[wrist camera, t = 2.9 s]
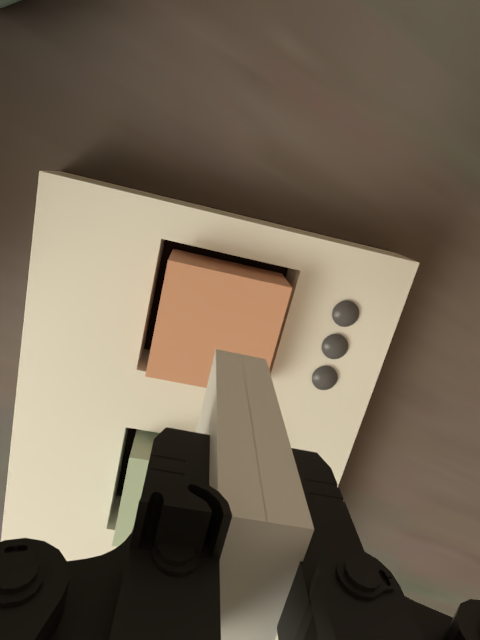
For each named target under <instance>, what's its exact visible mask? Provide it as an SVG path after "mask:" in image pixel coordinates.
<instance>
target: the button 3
mask: <svg viewBox="0 0 480 640" xmlns="http://www.w3.org/2000/svg"><path fill="white" fill-rule="evenodd" d="M291 291H292V287H291V285H290V284H289V283H288V281H287V280H286V278H285V277H284V276H283V274H282V273H278V272H273V271H269V270H265V269H260V268H256V267H251V266H247V265H243V264H238V263H234V262H230V261H225V260H221V259H216V258H212V257H208V256H203V255H199V254H194V253H190V252H186V251H181V250H177V249H173V250H172V252H171V254H170V257H169V259H168V262H167V267H166V272H165V277H164V283H163V288H162V293H161V298H160V303H159V308H158V313H157V318H156V323H155V328H154V334H153V339H152V344H151V349H150V354H149V359H148V364H147V369H146V374H145V377H151V378H156V379H161V380H167V381H172V382H177V383H183V384H188V385H193V386H199V387H204V388H207V384H208V379H209V375H210V371H211V367H212V363H213V359H214V355H215V351H216V349H218V350H223V351H228V352H233V353H238V354H243V355H248V356H253V357H258V358H262V359H266V361H267V364H268V368H269V369H270V365H271V362H272V358H273V355H274V351H275V347H276V344H277V340H278V337H279V333H280V330H281V326H282V323H283V319H284V316H285V312H286V309H287V305H288V302H289V298H290V295H291Z"/></svg>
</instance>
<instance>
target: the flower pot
mask: <svg viewBox="0 0 480 640" xmlns="http://www.w3.org/2000/svg"><path fill="white" fill-rule="evenodd" d="M19 1H21V0H0V8H3V7H6V6H8V5H11V4H13V3H16V2H19Z"/></svg>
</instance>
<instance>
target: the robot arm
mask: <svg viewBox="0 0 480 640" xmlns="http://www.w3.org/2000/svg"><path fill="white" fill-rule="evenodd" d="M337 485H338V484H337V482H336V479H335V477H334V474H333V472H332V469H331V467H330V466H329V465H328V464H327V463H326V462H325V461H324V460H323V459H322V457H321V456H320V455H319V454H318V453H317V452H311V451H306V450H300V449H294V448H291V445H290V442H289V438H288V435H287V431H286V428H285V424H284V421H283V417H282V414H281V410H280V406H279V403H278V399H277V396H276V392H275V389H274V385H273V382H272V378H271V375H270V371H269V368H268V364H267V361H266V359H262V358H258V357H253V356H248V355H243V354H238V353H233V352H228V351H223V350H218V349H216V351H215V355H214V359H213V363H212V367H211V371H210V375H209V379H208V384H207V388H206V392H205V396H204V400H203V404H202V408H201V412H200V416H199V421H198V425H197V429H196V432H190V431H185V430H179V429H174V428H168V427H166V428H165V429H164V430H163V431H162V432H161V433H160V434H158V435H157V436H156V437H155V438H154V441H153V445H152V450H151V454H150V459H149V463H148V468H147V472H146V477H145V481H144V486H143V490H142V495H141V499H140V500H139V504H138V509H137V514H136V518H135V523H134V527H133V530H132V532H131V534H130V535H129V536H128V538H127V539H126V540H125V541H124V542H123V543H122V544H121V545H119V546H118V547H117V548H115V549H114V550H112V551H109V552H107V553H105V554H103V555H100V556H95V557H91V558H87V559H80V560H73V561H66V559H65V558H64V556H63V555H62V553H61V552H60V550H59V549H57V548H55V547H54V546H52V545H50V544H49V543H47V542H45V541H41V540H35V539H30V538H20V539H11V540H4V541H1V542H0V640H275V638H276V635H277V634H278V640H480V600H473V599H470V600H468V601H465V602H463V603H461V604H460V606H459V608H458V610H457V611H456V613H455V615H454V617H453V618H452V617H450V616H448V615H445V614H443V613H441V612H438V611H436V610H433V609H431V608H429V607H426V606H424V605H422V604H419V603H417V602H415V601H413V600H411V599H409V598H407V597H405V596H404V594H403V592H402V590H401V588H400V586H399V584H398V582H397V581H396V579H395V578H394V576H393V575H392V573H391V572H390V571H389V570H388V569H387V568H386V567H385V566H384V565H383V564H382V563H381V562H380V561H379V560H378V559H376V558H374V557H372V556H371V555H369V554H367V553H366V552H364V549H363V547H362V544H361V542H360V539H359V537H358V534H357V532H356V529H355V527H354V524H353V522H352V519H351V517H350V514H349V512H348V509H347V507H346V504H345V502H343V497H342V494H341V492H340V489H339V488H337Z"/></svg>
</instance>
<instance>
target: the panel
mask: <svg viewBox="0 0 480 640" xmlns="http://www.w3.org/2000/svg"><path fill="white" fill-rule="evenodd" d="M165 240H169V241H173V242H178V243H182V244H186V245H191V246H195V247H199V248H204V249H208V250H212V251H217V252H221V253H225V254H230V255H234V256H238V257H243V258H247V259H251V260H256V261H260V262H264V263H269V264H273V265H277V266H282V267H286V268H288V270H287V274H286V277H285V278H286V280H287V281H288V283H289V284H290V285H291V287H292V291H291V295H290V298H289V302H288V305H287V309H286V312H285V316H284V319H283V323H282V326H281V330H280V333H279V337H278V340H277V344H276V347H275V351H274V355H273V358H272V362H271V365H270V369H269V371H270V375H271V378H272V382H273V385H274V389H275V392H276V396H277V399H278V403H279V406H280V410H281V414H282V417H283V421H284V424H285V428H286V431H287V435H288V438H289V442H290V445H291V448H294V449H300V450H306V451H311V452H317V453H318V454H319V455H320V456H321V457H322V459H323V460H324V461H325V462H326V463H327V464H328V465H329V466H330V467H331V469H332V472H333V474H334V477H335V479H336V482H337V484H338V485H339V482H340V480H341V477H342V474H343V471H344V469H345V466H346V463H347V460H348V458H349V455H350V452H351V450H352V447H353V444H354V441H355V439H356V436H357V433H358V430H359V428H360V425H361V422H362V419H363V417H364V414H365V411H366V408H367V406H368V403H369V400H370V397H371V395H372V392H373V389H374V387H375V384H376V381H377V378H378V376H379V373H380V370H381V367H382V365H383V362H384V359H385V356H386V354H387V351H388V348H389V345H390V343H391V340H392V337H393V334H394V332H395V329H396V326H397V323H398V321H399V318H400V315H401V313H402V310H403V307H404V304H405V302H406V299H407V296H408V293H409V291H410V288H411V285H412V282H413V280H414V277H415V274H416V271H417V269H418V266H419V262H416V261H414V260H412V259H409V258H407V257H405V256H402V255H400V254H398V253H395V252H390V251H386V250H382V249H378V248H374V247H370V246H366V245H362V244H358V243H354V242H349V241H345V240H341V239H337V238H333V237H329V236H325V235H321V234H317V233H312V232H308V231H304V230H300V229H296V228H292V227H288V226H284V225H280V224H275V223H271V222H267V221H263V220H259V219H255V218H251V217H247V216H243V215H239V214H234V213H230V212H226V211H222V210H218V209H214V208H210V207H206V206H202V205H197V204H193V203H189V202H185V201H181V200H177V199H173V198H169V197H165V196H160V195H156V194H152V193H148V192H144V191H140V190H136V189H132V188H128V187H124V186H119V185H115V184H111V183H107V182H103V181H99V180H95V179H91V178H87V177H82V176H78V175H74V174H70V173H66V172H62V171H39V179H38V189H37V198H36V208H35V218H34V227H33V237H32V246H31V256H30V266H29V275H28V285H27V295H26V304H25V314H24V323H23V333H22V343H21V352H20V362H19V372H18V381H17V391H16V400H15V410H14V420H13V429H12V439H11V449H10V458H9V468H8V477H7V487H6V497H5V506H4V516H3V526H2V535H1V541H4V540H11V539H20V538H30V539H35V540H41V541H45V542H47V543H49V544H50V545H52V546H54V547H55V548H57V549H59V550H60V552H61V553H62V555H63V556H64V558H65V559H66V561H73V560H80V559H87V558H91V557H95V556H100V555H103V554H105V553H107V552H109V551H112V550H114V549H115V548H117V547H116V546H112V543H113V538H114V533H115V527H116V522H117V517H118V512H119V507H120V502H121V497H122V496H118V495H116V493H117V487H118V482H119V477H120V472H121V467H122V461H123V456H124V451H125V446H126V440H127V435H128V430H129V428H133V429H139V430H145V431H150V432H156V433H161V432H162V431H163V430H164V429H165V428H166V427H168V428H174V429H179V430H185V431H190V432H196V429H197V425H198V421H199V416H200V412H201V408H202V404H203V400H204V396H205V392H206V388H204V387H199V386H193V385H188V384H183V383H177V382H172V381H167V380H161V379H156V378H151V377H145V374H146V369H147V364H148V359H149V354H150V350H147V349H144V346H145V341H146V336H147V331H148V325H149V320H150V315H151V310H152V305H153V299H154V294H155V289H156V284H157V278H158V273H159V268H160V263H161V258H162V252H163V247H164V242H165ZM338 485H337V488H338ZM275 640H278V634H277V635H276V638H275Z"/></svg>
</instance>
